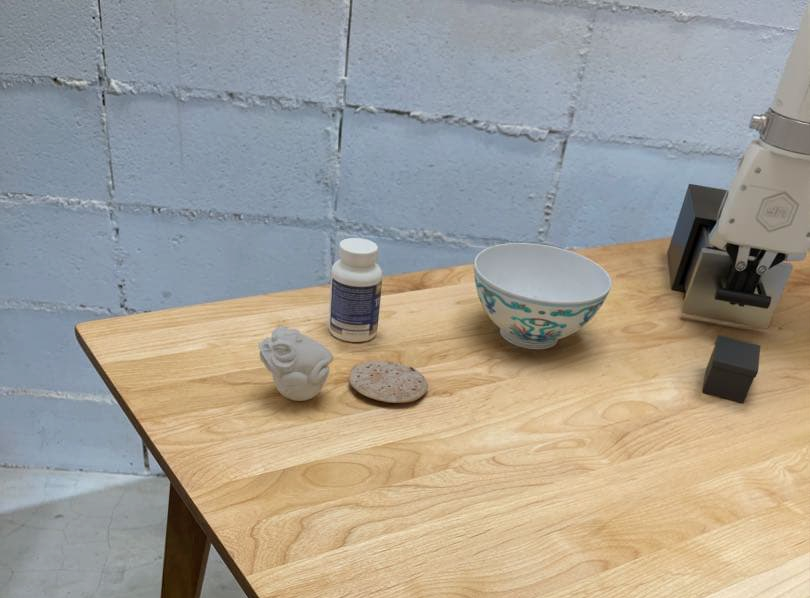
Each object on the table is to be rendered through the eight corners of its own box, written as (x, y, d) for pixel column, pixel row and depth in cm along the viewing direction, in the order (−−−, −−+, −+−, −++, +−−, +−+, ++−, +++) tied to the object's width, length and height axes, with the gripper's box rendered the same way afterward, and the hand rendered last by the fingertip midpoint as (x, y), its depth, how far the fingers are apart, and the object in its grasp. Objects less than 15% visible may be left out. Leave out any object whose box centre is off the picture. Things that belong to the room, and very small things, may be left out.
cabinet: (760, 306, 109) (790, 233, 103) (671, 289, 110) (695, 216, 104) (748, 267, 119) (775, 198, 113) (667, 252, 120) (689, 183, 113)
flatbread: (438, 381, 86) (439, 372, 85) (408, 415, 80) (409, 406, 80) (367, 358, 88) (368, 350, 87) (333, 390, 82) (334, 381, 82)
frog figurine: (256, 381, 83) (255, 315, 78) (327, 379, 84) (330, 315, 79) (261, 415, 78) (260, 348, 74) (336, 413, 80) (339, 347, 75)
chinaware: (610, 330, 99) (628, 267, 94) (568, 383, 89) (586, 316, 83) (494, 293, 103) (505, 231, 98) (442, 340, 93) (451, 273, 88)
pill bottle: (382, 343, 91) (390, 256, 85) (333, 344, 90) (338, 256, 83) (371, 319, 95) (378, 234, 88) (324, 320, 93) (328, 234, 87)
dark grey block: (705, 366, 95) (718, 334, 92) (746, 377, 94) (760, 345, 91) (700, 392, 90) (713, 359, 87) (744, 404, 89) (758, 371, 87)
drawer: (772, 347, 98) (800, 284, 93) (683, 330, 99) (706, 267, 94) (755, 288, 111) (778, 230, 106) (676, 274, 112) (696, 216, 107)
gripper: (730, 132, 84) (673, 302, 96) (882, 157, 83) (804, 326, 95) (724, 113, 90) (670, 276, 102) (865, 137, 89) (794, 299, 101)
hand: (735, 300), depth 99 cm, fingers closed
